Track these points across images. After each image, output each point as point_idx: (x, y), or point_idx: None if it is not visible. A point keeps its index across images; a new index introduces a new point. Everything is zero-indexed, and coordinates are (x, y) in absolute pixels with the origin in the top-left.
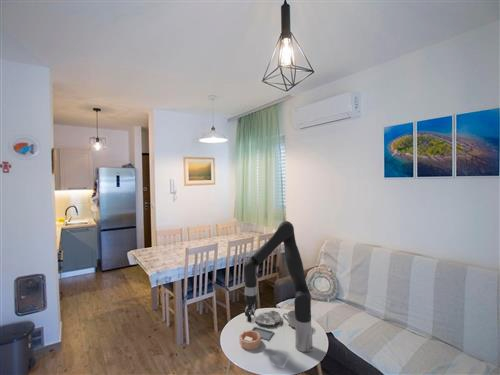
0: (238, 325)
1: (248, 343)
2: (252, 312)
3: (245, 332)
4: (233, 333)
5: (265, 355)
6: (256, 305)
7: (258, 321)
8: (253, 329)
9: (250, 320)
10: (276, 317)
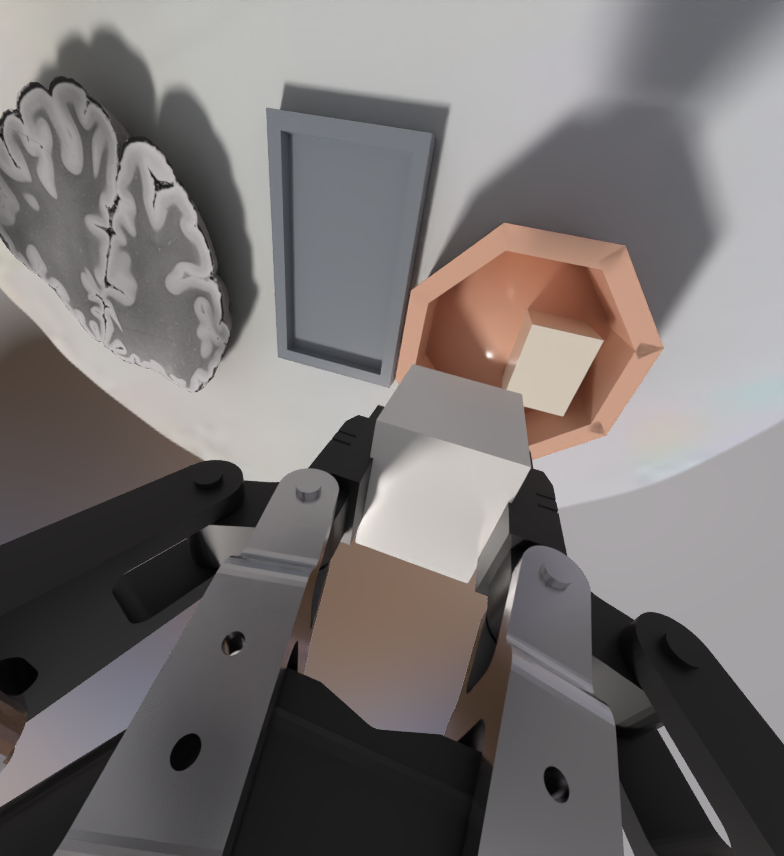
0: (307, 466)
1: (656, 350)
2: (340, 524)
3: None
4: None
5: (766, 57)
6: (29, 568)
7: (213, 338)
8: (317, 356)
9: (529, 476)
10: (49, 159)
